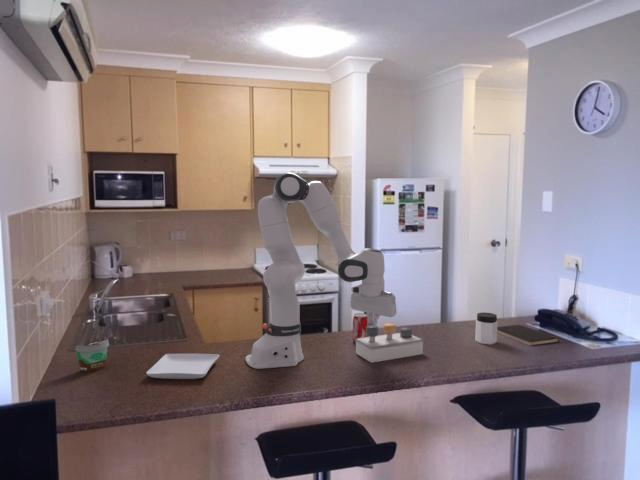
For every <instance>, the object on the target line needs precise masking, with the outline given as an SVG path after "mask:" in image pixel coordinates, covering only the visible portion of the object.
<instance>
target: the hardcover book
mask: <svg viewBox="0 0 640 480" xmlns="http://www.w3.org/2000/svg"><path fill="white" fill-rule="evenodd" d="M497 334H500V335H503V336H505V337H507V338H510V339H513V340H516V341H518V342H521V343H523V344H525V345H528V346H534V345H535V346H537V345H541V344H549V343H557V342H558V343H559V338H558V337H555V336H553V335H550V334H547V333H545V332H543V331H538V330H536V329H533V328H530V327H528V326H526V325H525V326H524V325H523V324H512V325H510V324H509V325H502V326H497Z"/></svg>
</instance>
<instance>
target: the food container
mask: <svg viewBox="0 0 640 480" xmlns="http://www.w3.org/2000/svg"><path fill="white" fill-rule="evenodd" d="M109 346H110V343H109V339H108V338H107V337H105V336H104V339H102V340H99V341H93V342H89V343H87V344H85V345H78V344H76V347H75V352H76V353H77V359H78V365H79V371H80V372H82V373H93V372H99V371H101V370H103V369H105V368H106V367H107V359H108V358H107V357H108V347H109Z"/></svg>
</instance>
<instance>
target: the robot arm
mask: <svg viewBox="0 0 640 480" xmlns="http://www.w3.org/2000/svg"><path fill="white" fill-rule="evenodd" d="M295 202H300V203H301V204H302V205H303V206H304V207H305V209H306V211H307V214H308V216H309V218H310V220H311V222H312V224H313V225H314V226H315V228H316V229H317V230H318V231H319V232H321V233H322V234H324V235H325V237H327V239H328V240H329V241H330V244H331V246H332V248H333V250H334V252H335V253H336V256H337V261H338V262H337V263H338V265H337V266H338V267H337V273H338V276H339V277H340V278H341V280H343V281H344V282H347V283H353V282H358V281H361V283H360V284H358V285H355V286H353V287H351V292H352V293H351V295H350V308H351V310H353V311H359V312H361V313H362V312H363V313H365V314H366V315H367V318H368V320H369V325H371V326H377V325H378V320H379V318H380V316H383V317H387V318H393V317H395V316H396V315H397V304H396V303H397V301H396V299H397V298H396V296H395V295H394V293H393V292H388V291H386V290H385V278H384V276H385V275H384V274H385V271H386V270H385V268H386V267H385V256H384V254H383V252H382V251H381V250H380V249H378V248H373V247H365V248H363V249H362V250H361V251H359V252H358V253H355V252H354V251H353V249H352V248H351V245H350V244H349V242H348V240H347V237H346V235H345V234H344V231H343V228H342V221H341V216H340V214H339V210H338V207H337V205H336V202H335V200H334V198H333V196H332V195H331V193H330V191H329V189H328V188H327V187H326V186H325V184H324V183H323V182H321V181H320V180H313V181H309V182H308V181H306V180H305V179H304V178H302V177H301V176H299V175H298V174H296V173H294V172H286V173H283V174H281V175H280V176H279V177H277V179H276V180H275V182H274V185H273V189H272V193H271V194H270V195H267V196H264V197H262V198H261V199H259V201H258V204H257V215H258V216H257V217H258V225H259V229H260V233H261V239H262V243H263V246H264V249H265V250H266V251H267V252H268V254H269V256H270V258H271V260H272V263H271V264H269V266H268V267H267V268H266V270H265V271H264V273H263V274H262V275H263V277H262V279H263V280H262V281H263V284H264V285H265V287H266V288H267V293H268V296H269V302H270V323H269V324H267V323H266V322H265V323H263V324H262V328H263V329H264V330H265V332H266V333H264V334H263V335H262V336H261V337H260V338H258V340H256V341H254V343H253V344H252V347H251V353H250V354H248V355H246V357H245V363H246V364H247V365H248V366H250V367H251V368H253V369H255V370H257V369H259V370H261V369H271V368H272V369H273V368H284V367H295V366H297V365H298V363H300V362H302V361H303V360H304V359H305V356H304V354H303V349H302V342H301V335H302V333H301V332H302V326H301V322H300V300H299V299H298V297H297V292H296V284H298V283H300V282H301V280H302V279H303V277H304V275H305V272H306V270H305V269H306V268H305V265H304V263H303V261H302V260H301V258H300V255H299V253H298V251H297V249H296V247H295V243H294V241H293V236H292V232H291V228H290V223H289V218H288V214H287V213H288V212H287V207H288V206H289V205H290V204H293V203H295ZM373 317H374V318H373Z"/></svg>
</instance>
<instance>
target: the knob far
mask: <svg viewBox="0 0 640 480" xmlns="http://www.w3.org/2000/svg"><path fill="white" fill-rule="evenodd" d="M399 333H400V337H403V338H411V337H412V335H413V328H411V327H408V326H405V327H400V329H399Z"/></svg>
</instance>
